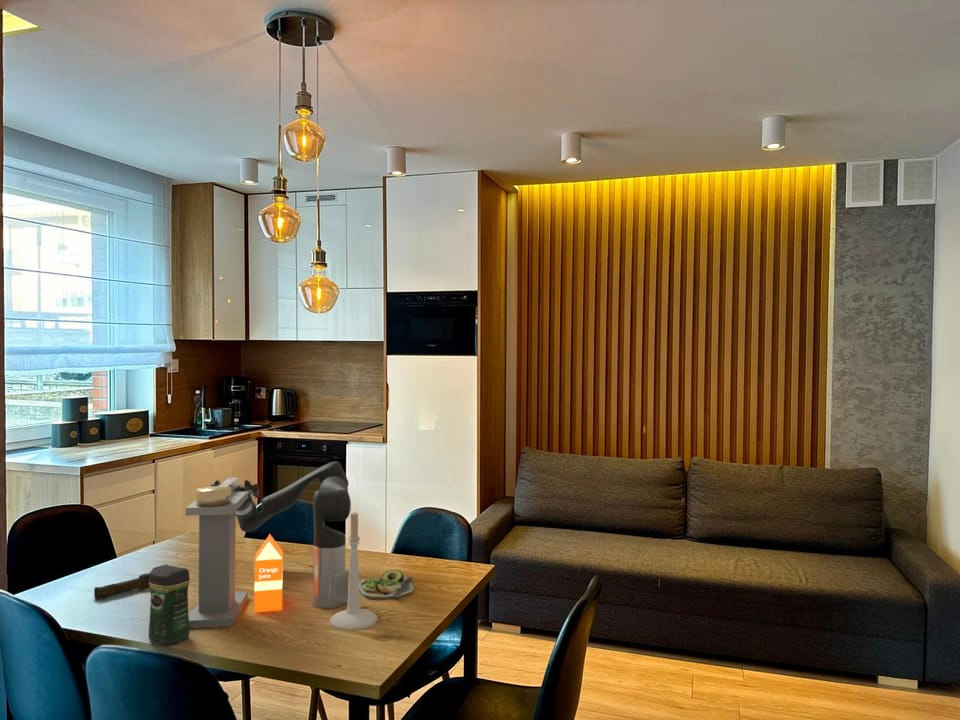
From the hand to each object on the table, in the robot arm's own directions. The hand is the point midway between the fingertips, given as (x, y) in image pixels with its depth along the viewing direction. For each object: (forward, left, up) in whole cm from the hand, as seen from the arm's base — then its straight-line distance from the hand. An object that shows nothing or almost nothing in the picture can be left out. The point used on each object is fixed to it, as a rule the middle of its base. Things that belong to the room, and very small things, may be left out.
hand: (231, 482), depth 211 cm
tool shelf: (-10, +14, -34) cm, 38 cm away
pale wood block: (-8, +10, -2) cm, 13 cm away
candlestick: (-48, +2, -34) cm, 59 cm away
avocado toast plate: (-41, -24, -34) cm, 59 cm away
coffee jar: (-14, +33, -34) cm, 50 cm away
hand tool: (+28, +15, -34) cm, 46 cm away
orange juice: (-19, +4, -34) cm, 39 cm away
